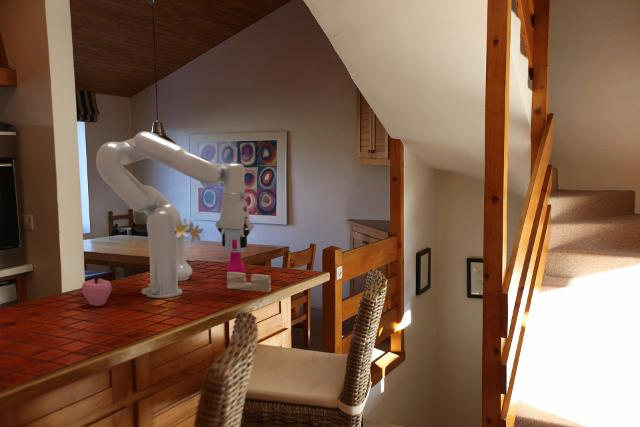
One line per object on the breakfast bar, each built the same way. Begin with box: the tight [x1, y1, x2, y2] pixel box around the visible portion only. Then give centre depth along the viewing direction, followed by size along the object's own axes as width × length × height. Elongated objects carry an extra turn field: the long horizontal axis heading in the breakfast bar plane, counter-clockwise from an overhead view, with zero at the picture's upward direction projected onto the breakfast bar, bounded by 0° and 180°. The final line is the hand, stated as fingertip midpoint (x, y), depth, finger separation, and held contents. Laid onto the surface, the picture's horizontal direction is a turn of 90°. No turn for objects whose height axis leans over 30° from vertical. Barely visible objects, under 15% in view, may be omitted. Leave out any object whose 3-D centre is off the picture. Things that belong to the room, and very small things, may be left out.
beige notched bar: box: [226, 271, 272, 294], centre depth 220 cm, size 2×18×6 cm, turn 64°
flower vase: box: [175, 218, 204, 282], centre depth 239 cm, size 13×18×25 cm
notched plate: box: [224, 229, 245, 253], centre depth 212 cm, size 2×7×8 cm, turn 63°
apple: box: [81, 277, 113, 307], centre depth 198 cm, size 10×9×10 cm
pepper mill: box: [226, 239, 246, 273], centre depth 235 cm, size 7×7×20 cm
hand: (234, 246), depth 213 cm, fingers closed on notched plate, 7 cm apart
